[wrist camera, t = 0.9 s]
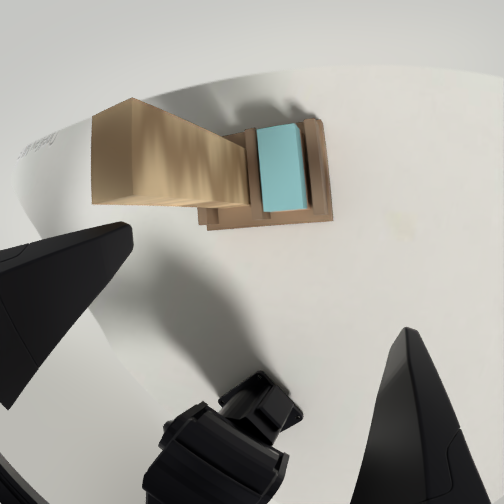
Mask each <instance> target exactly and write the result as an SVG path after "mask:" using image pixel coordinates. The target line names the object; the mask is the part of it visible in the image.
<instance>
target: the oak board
mask: <svg viewBox="0 0 504 504" xmlns="http://www.w3.org/2000/svg"><path fill="white" fill-rule="evenodd" d="M91 191H92V204H97V205H149V206H179V207H203V208H231V207H240V206H249V205H251V200H250V187H249V175H248V163H247V150H246V149H245V148H243V147H241V146H239V145H237V144H235V143H233V142H231V141H229V140H227V139H225V138H223V137H221V136H219V135H216V134H214V133H212V132H210V131H208V130H206V129H204V128H202V127H199V126H197V125H195V124H193V123H191V122H189V121H186V120H184V119H182V118H180V117H177V116H175V115H173V114H171V113H168V112H166V111H164V110H161V109H159V108H157V107H154V106H152V105H150V104H147V103H145V102H142V101H140V100H137V99H135V98H130V99H128V100H126V101H123V102H121V103H119V104H117V105H115V106H112V107H110V108H108V109H106V110H104V111H102V112H100V113H98V114H96V115H94V116H92V136H91Z"/></svg>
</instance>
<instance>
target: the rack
mask: <svg viewBox="0 0 504 504" xmlns="http://www.w3.org/2000/svg"><path fill="white" fill-rule="evenodd" d="M295 124H296V125H297V127H298V128H299V129H300V130H301V131H302V132H303V134H304V141H305V149H306V158H307V168H308V178H309V188H310V199H311V209H310V210H297V211H286V212H264V209H263V197H262V185H261V173H260V162H259V150H258V139H257V129H256V128H251V129H246V130H245V132H241V133H236V134H231V135H227V136H222V137H223V138H225V139H227V140H229V141H231V142H233V143H235V144H237V145H239V146H241V147H243V148H245V149H246V150H247V163H248V175H249V187H250V200H251V205H249V206H240V207H231V208H203V207H197V209H198V222H199V225H207V231H210V230H222V229H234V228H246V227H258V226H271V225H284V224H297V223H311V222H326V221H333V211H332V199H331V188H330V178H329V169H328V160H327V151H326V143H325V135H324V128H323V123H322V121H321V120H315V118H312V119H304V122H299V123H295Z"/></svg>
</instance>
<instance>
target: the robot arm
mask: <svg viewBox="0 0 504 504" xmlns="http://www.w3.org/2000/svg"><path fill="white" fill-rule="evenodd" d="M133 246H134V244H133V233H132V227H131V225H129V224H127V223H124V222H115V223H111V224H106V225H102V226H97V227H93V228H89V229H84V230H80V231H76V232H72V233H68V234H63V235H59V236H55V237H51V238H47V239H43V240H39V241H36V242H32V243H30V244H24V245H20V246H16V247H12V248H9V249H4V250H0V403H2V405H3V406H4V407H5V408H6V409H7V410H9V409H10V408H11V406H12V405H13V404H14V402H15V401H16V399H17V398H18V396H19V395H20V394H21V392H22V391H23V389H24V388H25V387H26V385H27V384H28V382H29V381H30V380H31V378H32V377H33V375H34V374H35V373H36V372H37V370H38V368H39V367H40V366H41V365H42V363H43V362H44V361H45V359H46V358H47V357H48V356H49V354H50V353H51V352H52V350H53V349H54V348H55V346H56V345H57V344H58V343H59V342H60V340H61V339H62V338H63V337H64V335H65V334H66V333H67V332H68V330H69V329H70V328H71V327H72V325H73V324H74V323H75V322H76V321H77V319H78V318H79V317H80V316H81V314H82V313H83V312H84V311H85V310H86V309H87V307H88V306H89V305H90V304H91V303H92V302H93V300H94V299H95V298H96V297H97V296H98V295H99V293H100V292H101V291H102V290H103V289H104V288H105V287H106V285H107V284H108V283H109V282H110V280H111V279H112V278H113V276H114V275H115V274H116V272H117V271H118V269H119V268H120V267H121V265H122V264H123V263H124V261H125V260H126V259H127V257H128V256H129V255H130V253H131V252H132V250H133ZM258 375H260V376H261V377H262V378H260V377H258ZM223 401H224V402H225V403H224V402H223ZM218 403H219V404H220V405H221V407H222V409H221V410H220V411H219V412H216V411H215V410H213V409H212V408H210V407H209V406H208V404H207V403H205V402H204V401H202V402H201V403H199V404H198V405H197V404H196V405H194V406H193V407H191V408H190V409H188V410H187V411H185V412H184V413H182V414H180V415H179V416H177V417H176V418H175V419H174V420H171V421H167V422H166V423H165V424H164V426H163V429H164V434H163V436H162V439H161V441H160V442H159V445H158V446H159V447H160V448H161V449H162V450H163V451H162V452H161V453H160V454H159V456H158V457H157V458H156V459H155V461H154V462H153V463H152V465H151V466H150V467H149V469H148V471H147V472H146V473H145V475H144V478H143V484H142V488H143V489H144V490H145V491H146V504H267V503H268V502H269V501H270V500H271V498H272V497H273V496H274V495H275V493H276V492H277V490H278V489H279V487H280V485H281V484H282V482H283V479H284V477H285V472H286V468H287V464H288V460H289V455H288V454H286V453H282V452H280V451H278V450H277V449H275V448H273V447H272V446H273V444H274V442H275V440H276V438H277V436H278V435H279V433H280V432H282V431H284V430H286V429H287V428H289V427H291V426H293V425H295V424H296V423H298V422H300V421H301V420H302V419H303V413H302V412H301V411H300V410H299V409H298V408H297V407H296V406H295V405H294V403H293V402H292V401H291V400H290V399H289V398H288V397H287V396H286V394H285V393H284V392H283V391H282V390H281V389H280V388H279V387H278V386H277V385H275V384H274V383H273V382H272V381H271V380H270V379H269V378H268V376H267V375H266V374H265V373H264V372H262V371H257V372H256V373H254V374H253V375H252V376H250V377H249V378H248V379H246V380H245V381H243V382H242V383H241V384H239V385H238V386H236V387H235V388H233V389H232V390H231V391H229V392H228V393H226V394H225V395H223V396H222V397H221V398H220V399H219V400H218ZM296 416H300V417H296ZM0 503H1V504H49V503H48V502H47V501H46V500H45V499H44V498H43V497H41V496H40V495H39V494H38V493H37V492H36V491H35V490H34V489H33V488H32V487H31V486H30V485H29V484H28V483H27V482H26V481H25V480H24V479H23V478H22V477H21V476H20V475H19V474H18V472H17V471H16V470H15V469H14V468H13V467H12V466H11V465H10V464H9V462H8V461H7V460H6V459H5V458H4V457H3V455H2V454H1V453H0ZM350 504H491V502H490V499H489V497H488V494H487V492H486V489H485V487H484V485H483V482H482V480H481V478H480V475H479V473H478V471H477V468H476V466H475V463H474V461H473V459H472V456H471V454H470V451H469V448H468V446H467V443H466V441H465V438H464V435H463V432H462V430H461V429H460V425H459V422H458V420H457V417H456V415H455V412H454V410H453V407H452V405H451V402H450V400H449V397H448V395H447V393H446V390H445V388H444V386H443V383H442V381H441V379H440V377H439V374H438V372H437V370H436V368H435V366H434V363H433V361H432V359H431V357H430V355H429V353H428V351H427V349H426V347H425V344H424V342H423V340H422V338H421V336H420V334H419V332H418V331H417V330H415V329H412V328H409V327H404V328H403V329H402V331H401V332H400V334H399V335H398V337H397V338H396V340H395V341H394V343H393V344H392V346H391V348H390V351H389V355H388V359H387V362H386V366H385V370H384V373H383V377H382V380H381V384H380V387H379V391H378V394H377V398H376V403H375V408H374V413H373V418H372V423H371V427H370V432H369V436H368V441H367V445H366V449H365V453H364V457H363V461H362V465H361V468H360V472H359V476H358V479H357V483H356V486H355V489H354V493H353V496H352V499H351V502H350Z"/></svg>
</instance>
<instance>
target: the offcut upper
mask: <svg viewBox="0 0 504 504" xmlns="http://www.w3.org/2000/svg"><path fill="white" fill-rule="evenodd" d="M257 139H258V150H259V162H260V173H261V185H262V197H263V209H264V212H275V211H287V210H298V209H307V198H306V187H305V176H304V166H303V157H302V147H301V139H300V130H299V128H298V127H297V125H296V124H295V123H292V124H285V125H279V126H273V127H267V128H262V129H257Z"/></svg>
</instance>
